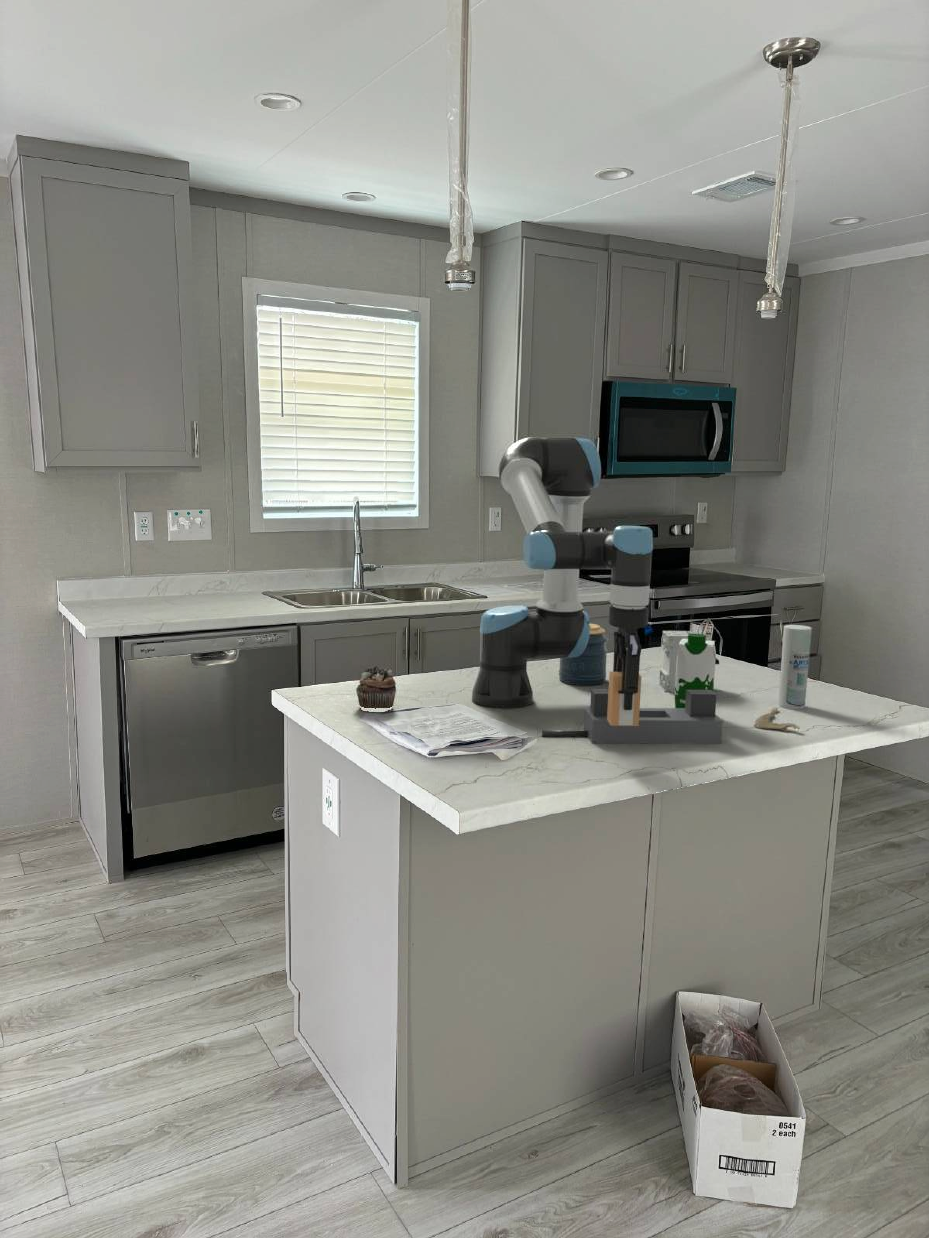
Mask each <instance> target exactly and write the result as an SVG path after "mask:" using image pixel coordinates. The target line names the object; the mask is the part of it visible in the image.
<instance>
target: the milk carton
mask: <svg viewBox="0 0 929 1238" xmlns="http://www.w3.org/2000/svg"><path fill="white" fill-rule="evenodd" d="M715 642H716V640H707V636H706V635H705V634H703V633H695V634H688V639H682V640H681V641H680V643H679V646H678V651H677V662H676V678H675V692H674V706H675V707H674V708H685V699H686V690H712V691H713V692H714V690H715V689H714V688H715V674H716V672H715V671H716V664H715V659H716V658H717V653H716V652H717V651H716V645H715ZM714 693H715V692H714Z"/></svg>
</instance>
